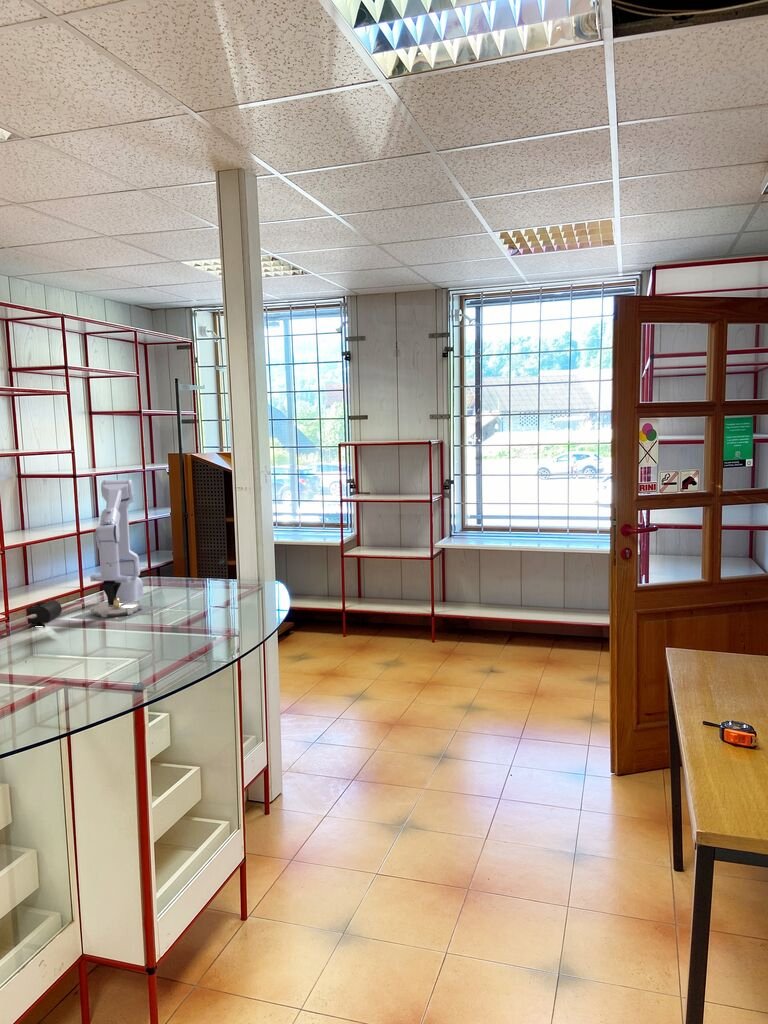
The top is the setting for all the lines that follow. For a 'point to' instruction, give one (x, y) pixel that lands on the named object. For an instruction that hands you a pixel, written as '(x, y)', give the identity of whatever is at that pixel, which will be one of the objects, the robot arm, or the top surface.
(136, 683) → the top surface
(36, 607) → the electric motor
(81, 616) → the base plate
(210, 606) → the top surface
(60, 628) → the top surface
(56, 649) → the top surface
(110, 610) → the lugged metal disc
